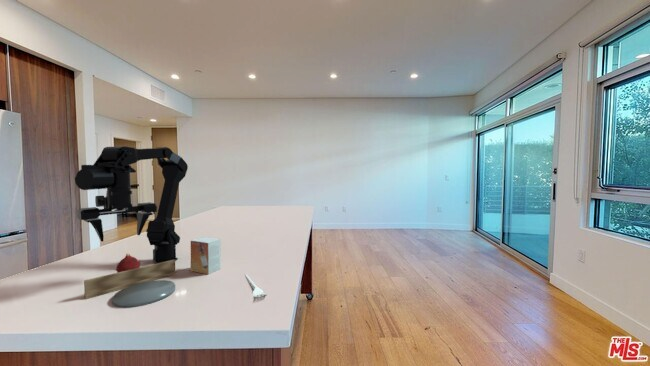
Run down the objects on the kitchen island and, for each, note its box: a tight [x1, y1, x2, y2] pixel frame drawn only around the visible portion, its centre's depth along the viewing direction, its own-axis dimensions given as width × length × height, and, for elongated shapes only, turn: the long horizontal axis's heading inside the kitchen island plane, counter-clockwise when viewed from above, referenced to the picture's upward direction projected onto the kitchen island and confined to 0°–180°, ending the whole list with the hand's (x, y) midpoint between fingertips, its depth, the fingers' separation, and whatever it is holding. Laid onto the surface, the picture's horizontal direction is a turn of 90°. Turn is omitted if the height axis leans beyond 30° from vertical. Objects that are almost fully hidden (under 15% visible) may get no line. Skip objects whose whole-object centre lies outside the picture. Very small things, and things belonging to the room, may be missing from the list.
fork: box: [244, 273, 268, 298], centre depth 77 cm, size 3×20×2 cm, turn 29°
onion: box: [116, 253, 141, 273], centre depth 82 cm, size 6×6×8 cm
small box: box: [190, 237, 222, 275], centre depth 89 cm, size 8×6×10 cm
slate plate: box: [112, 279, 176, 308], centre depth 72 cm, size 14×14×1 cm
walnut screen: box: [83, 260, 177, 300], centre depth 78 cm, size 22×2×4 cm, turn 140°
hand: (121, 238), depth 81 cm, fingers open, 9 cm apart
